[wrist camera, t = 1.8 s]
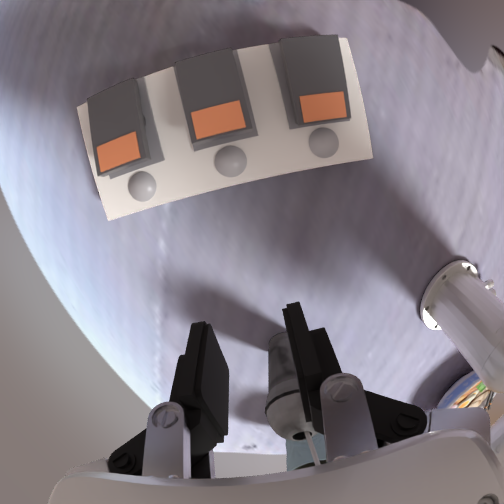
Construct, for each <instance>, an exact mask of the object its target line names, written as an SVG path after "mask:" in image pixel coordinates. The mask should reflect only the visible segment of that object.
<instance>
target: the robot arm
mask: <svg viewBox="0 0 504 504" xmlns="http://www.w3.org/2000/svg"><path fill="white" fill-rule="evenodd" d="M493 285H494V282H493V280H492V279H490V280H488V281H486V282H483V281H482V280H481V279H479V278H478V273H477V270H476V268H475V266H473V265H472V264H471V263H470V262H468V261H465V260H457V261H454V262H451V263H450V264H448V265H446V266H445V267H444V268H443V269H441V270H440V271H439V272H438V273H437V274H436V275H435V277H434V278H433V279H432V280H431V282H430V283H429V285H428V287H427V288H426V291H425V293H424V295H423V298H422V301H421V306H420V315H421V319H422V321H423V323H424V324H425V325H426V326H427V327H428V328H430V329H433V330H440V329H442V331H443V332H444V333H445V334H446V335H447V337H448V338H449V339H450V340H451V342H452V343H453V344H454V345H455V346H456V348H457V349H458V350H459V352H460V353H461V354H462V355H463V357H464V358H465V359H466V361H467V362H468V363H469V365H470V366H471V367H472V368H473V370H474V371H475V373H476V374H477V375H478V377H479V378H480V379H481V381H482V382H483V383H484V385H485V386H486V387H487V388H488V389H489V390H491V391H493V392H496V393H504V303H503V302H502V301H501V300H500V299H499V298H497V297H496V292H495V290H494V289H493V288H491V287H493ZM489 288H491V289H489ZM488 289H489V290H488ZM286 305H287V308H284V309H282V311H283V316H284V320H285V325H286V330H287V335H288V340H289V344H290V349H291V354H292V359H293V364H294V368H295V373H296V377H297V382H298V387H299V391H300V396H301V401H302V406H303V410H304V415H305V420H306V423H307V422H312V427H313V428H314V431H316V432H318V433H320V434H322V435H324V442H325V452H326V462H327V463H326V464H322V465H317V466H313V467H308V468H303V469H298V470H292V471H286V472H280V473H273V474H265V475H257V476H247V477H236V478H215V467H214V455H213V448H214V447H215V446H216V445H217V443H223V442H224V436H225V435H228V403H229V369H228V366H227V363H226V361H225V358H224V356H223V354H222V351H221V349H220V346H219V344H218V341H217V339H216V336H215V334H214V331H213V329H212V326H211V324H206V322H205V321H203V322H198V323H192V324H191V328H190V333H189V338H188V342H187V347H186V352H185V355H180V356H179V359H178V363H177V367H176V372H175V376H174V381H173V386H172V390H171V395H170V400H169V402H164V403H161V404H159V405H157V406H155V407H154V408H153V409H152V410H151V412H150V413H149V417H148V422H147V428H146V429H145V430H143V431H142V432H141V433H139V434H138V435H136V436H135V437H134V438H132V439H131V440H130V441H128V442H127V443H125V444H124V445H122V446H121V447H120V448H118V449H117V450H115V451H114V452H113V453H112V454H111V456H110V457H109V459H106V458H102V459H99V460H96V461H93V462H90V463H87V464H83V465H80V466H77V467H73V468H71V469H69V470H68V471H67V472H66V475H65V477H64V478H62V479H61V480H59V481H58V483H57V484H56V486H55V487H54V489H53V491H52V493H51V496H50V498H49V501H48V504H504V414H503V415H502V416H501V417H500V418H499V419H498V420H497V421H496V422H495V423H494V424H493V425H492V426H491V427H490V417H489V414H488V413H487V412H486V410H484V409H483V408H481V407H468V408H448V409H432V410H431V411H423V410H422V409H421V408H419V407H417V406H414V405H411V404H407V403H404V402H401V401H397V400H394V399H391V398H388V397H385V396H381V395H378V394H375V393H372V392H369V391H366V390H364V389H363V385H362V383H361V381H360V379H358V378H357V377H356V376H354V375H352V374H348V373H342V371H341V368H340V366H339V363H338V360H337V358H336V355H335V353H334V350H333V348H332V345H331V342H330V340H329V337H328V335H327V332H326V330H325V328H324V327H323V328H319V329H315V330H311V331H309V329H308V326H307V323H306V320H305V317H304V314H303V311H302V308H301V305H300V302H295V303H291V304H286Z"/></svg>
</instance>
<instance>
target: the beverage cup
mask: <svg viewBox="0 0 504 504" xmlns="http://www.w3.org/2000/svg"><path fill="white" fill-rule="evenodd" d="M268 363H269V394H268V396H267V406H266V408H265V414H266V416H267V419H268V422H269V424H270V426H271V427H272V429H273V430H274V431H275V432H276V434H278V435H279V436H281V437H283V438H285V439H287V440H291V441H303V440H307V442H308V445H309V448H310V451H311V454H312V457H313V460H314V463H315V466H317V465H321V464H320V461H319V458H318V456H317V453H316V450H315V447H314V444H313V441H312V438H311V437H313V436H315V435H316V434H317V433H318V432H316V431H314V428H313V427H312V422H307V423H306V420H305V415H304V410H303V406H302V401H301V396H300V391H299V387H298V382H297V377H296V373H295V368H294V364H293V359H292V354H291V349H290V344H289V340H288V335H287V332H284V333H280V334H277V335H275V336H274V337H273V338H272V339H271V340H270V342H269V351H268Z"/></svg>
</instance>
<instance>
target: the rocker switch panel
mask: <svg viewBox="0 0 504 504" xmlns="http://www.w3.org/2000/svg"><path fill="white" fill-rule="evenodd" d="M338 39H339V43H340V48H341V54H342V59H343V64H344V70H345V76H346V82H347V89H348V96H349V103H350V111H351V118H349V119H341V120H333V121H325V122H318V123H311V124H305V125H297V124H296V123H295V118H294V112H293V107H292V102H291V97H290V92H289V87H288V84H287V80H286V72H285V68H284V63H283V59H282V54H281V50H280V45H279V42H278V43H271V44H266V45H260V46H254V47H248V48H243V49H238V50H237V49H236V50H232V51H233V55H234V59H235V62H236V66H237V70H238V73H239V77H240V81H241V85H242V88H243V92H244V96H245V100H246V104H247V108H248V111H249V115H250V119H251V123H252V127H253V132H248V133H244V134H239V135H235V136H231V137H227V138H223V139H219V140H215V141H211V142H207V143H204V144H200V145H196V146H194V145H193V144H192V143H191V138H190V134H189V129H188V125H187V120H186V115H185V110H184V106H183V101H182V96H181V91H180V86H179V81H178V76H177V71H176V65H175V66H173V67H170V68H167V69H164V70H161V71H158V72H155V73H152V74H150V75H147V76H144V77H141V78H139V79H136V81H137V82H138V87H139V94H140V100H141V107H142V113H143V114H144V117H145V120H146V126H145V130H146V135H147V140H148V146H149V151H150V156H151V160H148V161H145V162H142V163H139V164H136V165H134V166H131V167H128V168H125V169H123V170H120V171H117V172H115V173H112V174H110V175H107V176H105V177H101V176H97V171H96V165H95V159H94V153H93V146H92V139H91V132H90V123H89V114H88V104H87V102H86V103H84V104H82V105H80V106H78V107H77V111H78V116H79V120H80V125H81V129H82V134H83V138H84V142H85V146H86V150H87V154H88V157H89V161H90V165H91V168H92V172H93V175H94V178H95V182H96V185H97V188H98V191H99V195H100V198H101V201H102V204H103V207H104V210H105V213H106V216H107V218H108V221H110V220H113V219H116V218H119V217H123V216H126V215H129V214H132V213H135V212H138V211H142V210H145V209H148V208H152V207H155V206H158V205H162V204H165V203H169V202H172V201H176V200H179V199H183V198H187V197H190V196H194V195H198V194H202V193H205V192H209V191H213V190H217V189H221V188H225V187H229V186H233V185H237V184H242V183H246V182H250V181H255V180H259V179H264V178H268V177H273V176H277V175H282V174H287V173H292V172H297V171H302V170H307V169H313V168H318V167H323V166H329V165H335V164H341V163H347V162H353V161H359V160H366V159H372V158H373V154H372V147H371V141H370V135H369V129H368V124H367V118H366V113H365V108H364V103H363V99H362V94H361V90H360V85H359V81H358V77H357V73H356V69H355V65H354V62H353V58H352V54H351V51H350V47H349V44H348V41H347V38H338Z"/></svg>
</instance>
